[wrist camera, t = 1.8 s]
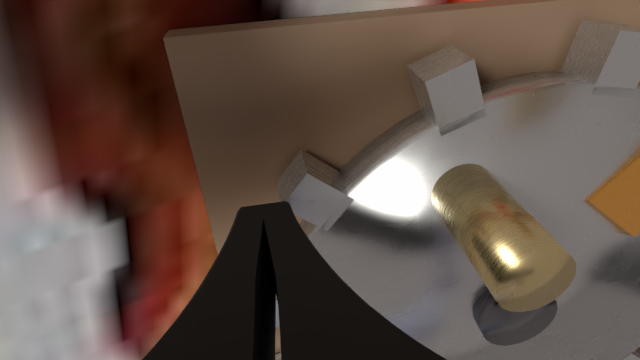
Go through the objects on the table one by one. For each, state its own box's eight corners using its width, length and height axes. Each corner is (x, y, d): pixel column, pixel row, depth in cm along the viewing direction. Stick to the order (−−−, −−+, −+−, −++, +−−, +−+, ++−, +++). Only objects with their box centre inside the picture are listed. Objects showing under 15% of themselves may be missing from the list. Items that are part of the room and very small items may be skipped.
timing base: (618, 361, 26) (632, 377, 25) (266, 428, 24) (267, 448, 23) (828, -32, 14) (868, -29, 13) (168, 30, 12) (162, 38, 11)
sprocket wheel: (629, 377, 24) (719, 483, 20) (275, 445, 22) (283, 581, 18) (851, -8, 13) (1175, 29, 9) (186, 58, 11) (146, 154, 7)
